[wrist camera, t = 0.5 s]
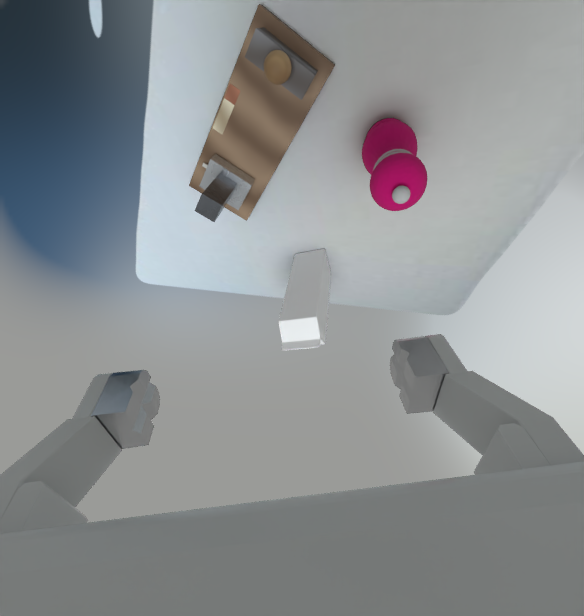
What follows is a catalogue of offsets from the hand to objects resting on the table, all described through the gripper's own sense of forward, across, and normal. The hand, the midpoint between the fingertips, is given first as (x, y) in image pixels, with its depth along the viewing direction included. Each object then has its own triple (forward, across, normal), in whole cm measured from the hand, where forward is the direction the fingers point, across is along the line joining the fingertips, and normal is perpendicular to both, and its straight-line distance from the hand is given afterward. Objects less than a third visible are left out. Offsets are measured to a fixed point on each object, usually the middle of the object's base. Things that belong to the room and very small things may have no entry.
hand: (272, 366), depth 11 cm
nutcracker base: (+48, +1, +1) cm, 48 cm away
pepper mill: (+44, -18, +3) cm, 47 cm away
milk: (+47, -7, +24) cm, 54 cm away
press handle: (+47, +7, +7) cm, 48 cm away
